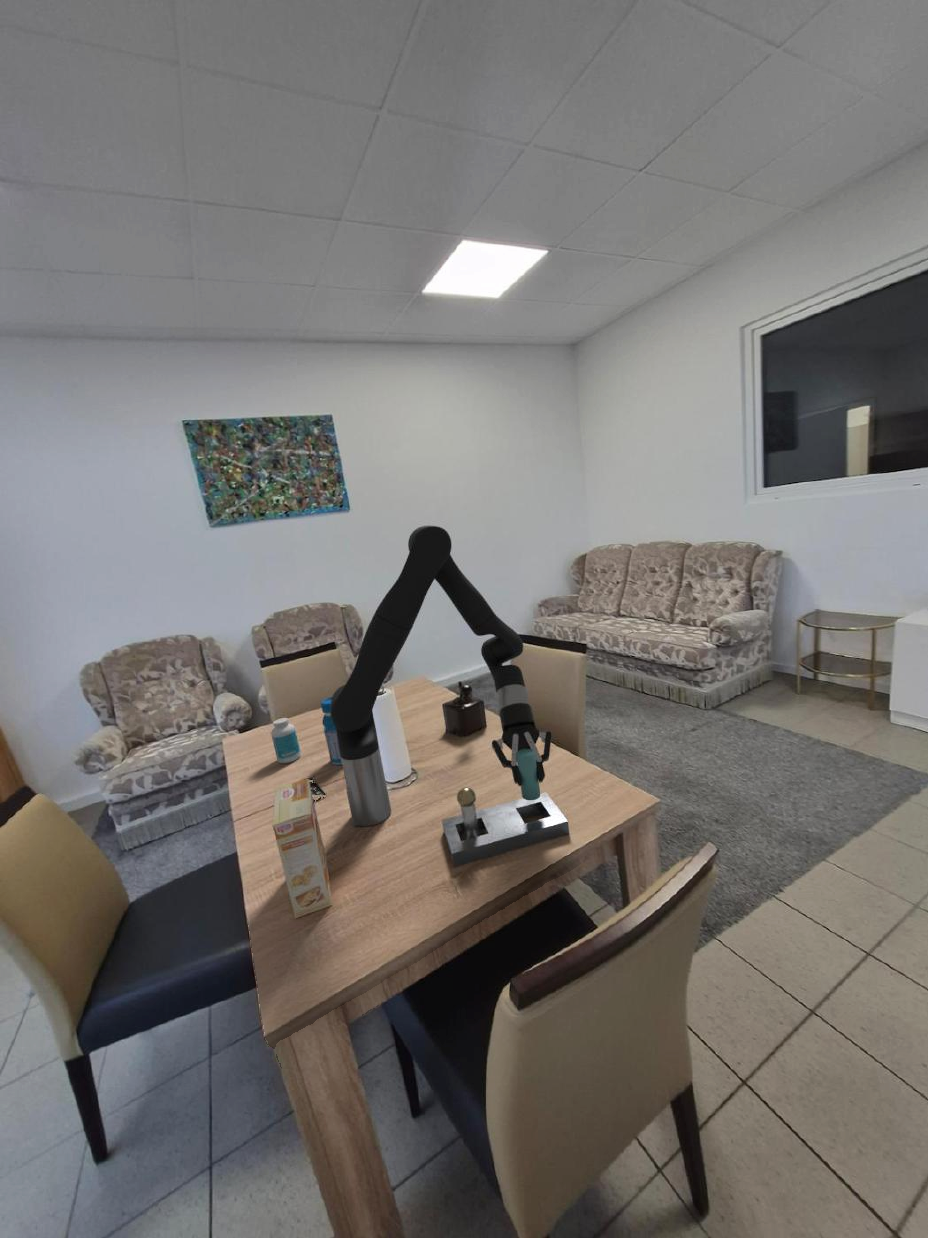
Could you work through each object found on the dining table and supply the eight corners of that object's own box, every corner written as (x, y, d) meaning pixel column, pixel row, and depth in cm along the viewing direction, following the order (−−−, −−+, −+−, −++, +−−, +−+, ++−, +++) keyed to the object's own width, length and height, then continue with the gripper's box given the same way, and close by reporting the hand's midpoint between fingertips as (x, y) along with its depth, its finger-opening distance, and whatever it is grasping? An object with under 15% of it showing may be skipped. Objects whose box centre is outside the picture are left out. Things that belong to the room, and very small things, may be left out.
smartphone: (311, 777, 142) (327, 795, 129) (311, 779, 142) (328, 798, 129) (285, 787, 138) (300, 807, 125) (286, 789, 138) (301, 810, 125)
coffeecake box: (333, 906, 90) (311, 813, 86) (293, 920, 88) (270, 826, 84) (328, 858, 104) (309, 777, 100) (294, 870, 102) (274, 787, 98)
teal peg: (525, 802, 101) (519, 759, 99) (519, 792, 105) (513, 751, 103) (543, 797, 102) (537, 754, 100) (536, 788, 106) (530, 746, 104)
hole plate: (454, 866, 95) (444, 811, 93) (443, 831, 107) (435, 781, 105) (569, 834, 100) (563, 780, 98) (547, 803, 112) (541, 754, 109)
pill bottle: (306, 755, 158) (297, 717, 156) (287, 765, 152) (278, 726, 150) (291, 752, 162) (283, 714, 160) (273, 762, 156) (263, 724, 154)
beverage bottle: (337, 768, 145) (324, 707, 141) (325, 761, 151) (313, 702, 148) (362, 757, 150) (350, 697, 147) (349, 750, 157) (337, 693, 153)
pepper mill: (443, 730, 161) (435, 680, 158) (468, 719, 168) (461, 670, 164) (472, 742, 149) (464, 688, 146) (498, 729, 156) (490, 677, 152)
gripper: (483, 707, 107) (497, 784, 98) (546, 697, 107) (565, 773, 98) (485, 719, 113) (497, 793, 104) (543, 710, 114) (562, 782, 104)
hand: (530, 783), depth 101 cm, fingers closed on teal peg, 4 cm apart
